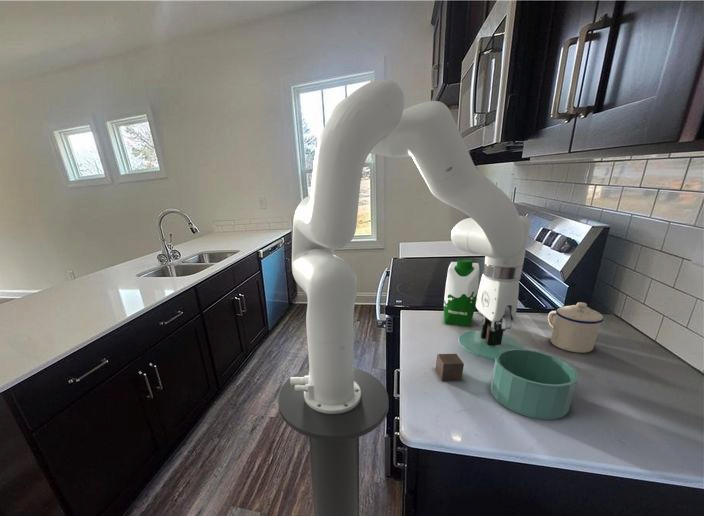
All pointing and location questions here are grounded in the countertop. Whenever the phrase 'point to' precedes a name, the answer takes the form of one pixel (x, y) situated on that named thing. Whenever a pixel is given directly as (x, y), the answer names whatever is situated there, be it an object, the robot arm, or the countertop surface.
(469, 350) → the lid
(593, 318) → the teacup with lid
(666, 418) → the countertop surface
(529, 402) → the bowl
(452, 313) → the milk carton
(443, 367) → the block
